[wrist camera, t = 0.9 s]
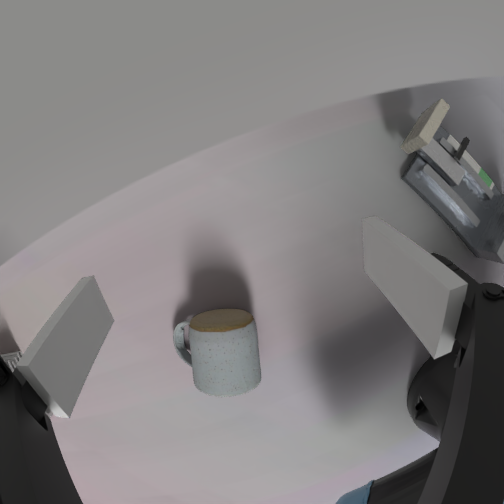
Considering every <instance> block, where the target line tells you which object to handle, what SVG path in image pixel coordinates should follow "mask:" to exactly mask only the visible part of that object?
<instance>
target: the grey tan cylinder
mask: <svg viewBox="0 0 504 504" xmlns="http://www.w3.org/2000/svg"><path fill="white" fill-rule="evenodd" d="M187 324H189V342H190V349H191V354H190V353H189V352H188V351H187V349H186V347H185V344H184V327H185V325H187ZM173 341H174V346H175V349H176V351H177V353H178V355H179V356H180V358H181V359H182V360H183V361H184V362H185V363H187V364H188V365H189V366H191V367H192V370H193V379H194V384H195V386H196V388H197V389H198V390H200V391H201V392H203V393H205V394H208V395H211V396H217V397H231V396H237V395H242V394H245V393H247V392H249V391H251V390H253V389H255V388H256V387H257V386H258V385H259V383H260V381H261V369H260V359H259V349H258V339H257V329H256V325H255V321H254V318H253V316H252V315H251V314H250V313H248V312H247V311H244V310H241V309H216V310H210V311H206V312H202V313H200V314H197V315H196V316H194V317H193V318H192V319H188V320H185V321H182V322H180V323H179V324H178V325H177V326H176V327H175V329H174V335H173Z"/></svg>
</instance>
